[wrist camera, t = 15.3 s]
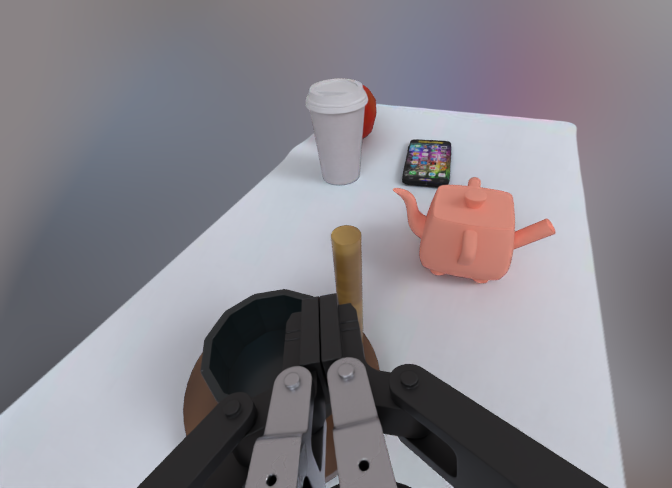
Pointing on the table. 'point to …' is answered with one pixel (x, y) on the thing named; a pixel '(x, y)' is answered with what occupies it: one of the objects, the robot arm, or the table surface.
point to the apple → (369, 113)
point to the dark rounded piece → (269, 342)
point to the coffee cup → (338, 127)
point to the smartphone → (427, 163)
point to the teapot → (470, 231)
